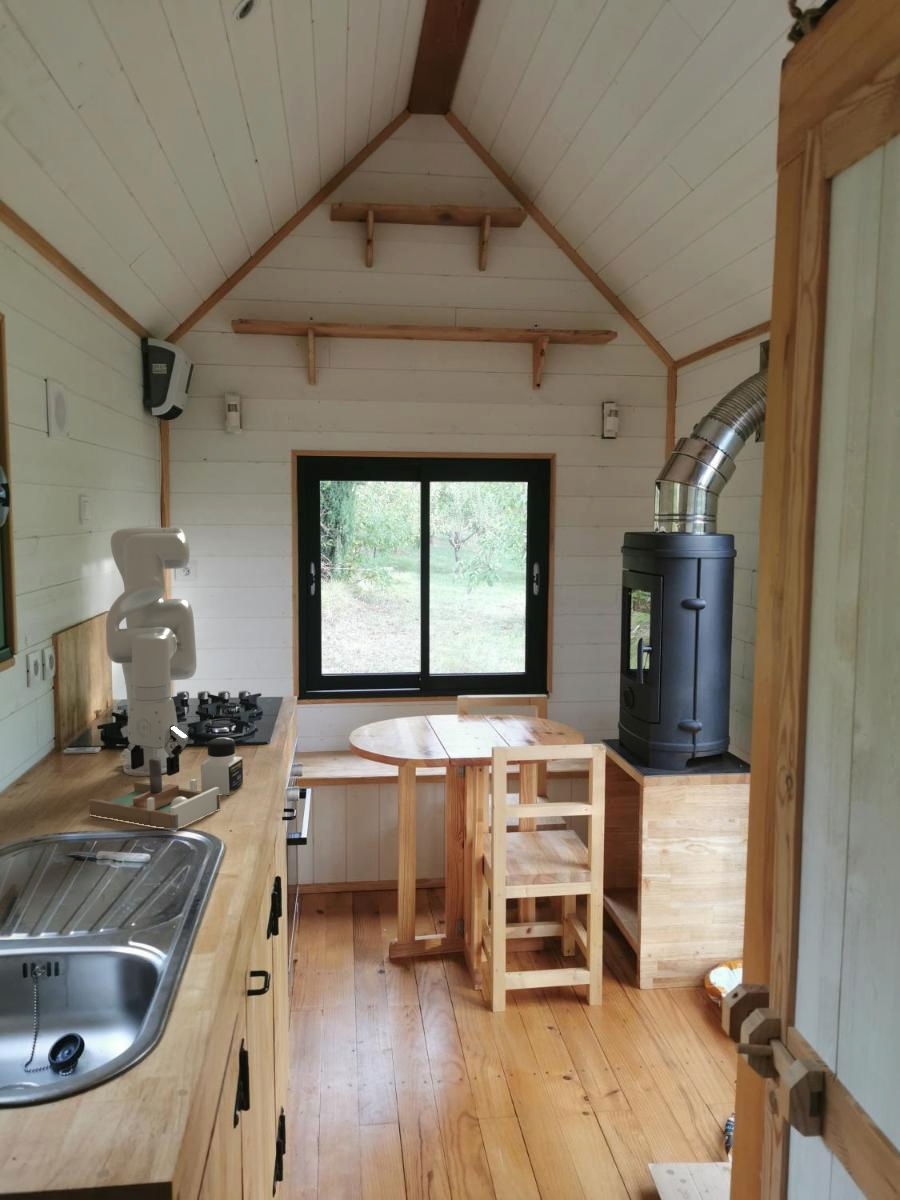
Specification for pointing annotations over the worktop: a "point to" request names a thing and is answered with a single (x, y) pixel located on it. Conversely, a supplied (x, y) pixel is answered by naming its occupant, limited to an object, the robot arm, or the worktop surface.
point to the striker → (157, 788)
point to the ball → (178, 801)
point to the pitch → (161, 816)
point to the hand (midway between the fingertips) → (155, 770)
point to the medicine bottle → (222, 767)
